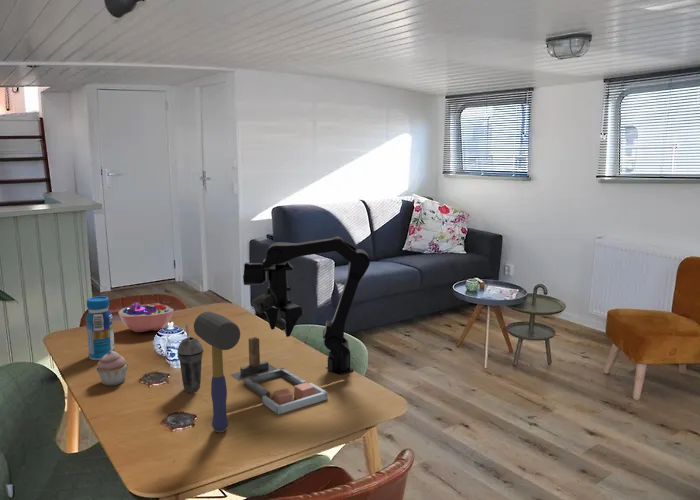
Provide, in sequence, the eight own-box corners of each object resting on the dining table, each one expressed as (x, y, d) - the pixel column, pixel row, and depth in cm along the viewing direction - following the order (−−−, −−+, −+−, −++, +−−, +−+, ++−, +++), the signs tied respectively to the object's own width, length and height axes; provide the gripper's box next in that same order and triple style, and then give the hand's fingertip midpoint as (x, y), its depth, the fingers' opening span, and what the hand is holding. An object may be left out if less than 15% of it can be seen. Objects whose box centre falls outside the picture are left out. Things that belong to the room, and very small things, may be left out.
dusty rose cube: (287, 400, 166) (287, 388, 165) (292, 406, 162) (292, 394, 161) (274, 403, 164) (273, 391, 163) (279, 408, 160) (279, 396, 160)
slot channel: (283, 375, 183) (283, 367, 182) (306, 389, 172) (306, 381, 172) (244, 385, 175) (244, 377, 174) (266, 401, 164) (265, 392, 164)
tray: (311, 388, 173) (311, 382, 172) (327, 399, 166) (327, 392, 166) (262, 403, 163) (262, 396, 163) (278, 414, 157) (277, 407, 156)
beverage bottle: (82, 358, 195) (77, 300, 192) (101, 350, 203) (97, 294, 199) (102, 362, 192) (97, 303, 189) (121, 353, 200) (117, 296, 196)
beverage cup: (209, 385, 174) (207, 321, 171) (195, 395, 168) (192, 328, 164) (188, 382, 177) (185, 318, 173) (174, 392, 170) (170, 325, 166)
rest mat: (270, 366, 190) (270, 364, 190) (279, 372, 185) (279, 370, 185) (230, 376, 182) (230, 374, 181) (238, 382, 177) (238, 380, 177)
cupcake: (96, 378, 180) (94, 347, 178) (129, 373, 183) (127, 343, 181) (96, 390, 171) (93, 357, 169) (130, 385, 175) (128, 353, 173)
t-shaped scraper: (265, 368, 187) (264, 334, 185) (269, 370, 185) (268, 336, 183) (239, 374, 181) (238, 340, 179) (243, 377, 179) (242, 342, 177)
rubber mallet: (195, 425, 150) (190, 312, 145) (222, 417, 155) (218, 307, 149) (218, 445, 141) (213, 324, 135) (246, 435, 146) (242, 318, 140)
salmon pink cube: (305, 393, 170) (305, 382, 169) (314, 398, 167) (314, 386, 166) (294, 397, 167) (294, 385, 167) (302, 402, 164) (302, 390, 164)
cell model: (166, 338, 216) (164, 308, 214) (111, 337, 216) (109, 308, 214) (179, 324, 233) (178, 296, 230) (129, 323, 233) (127, 295, 231)
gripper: (240, 282, 183) (242, 330, 186) (270, 294, 168) (272, 346, 171) (271, 277, 190) (273, 323, 193) (303, 288, 175) (304, 338, 178)
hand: (280, 332), depth 183 cm, fingers open, 9 cm apart
